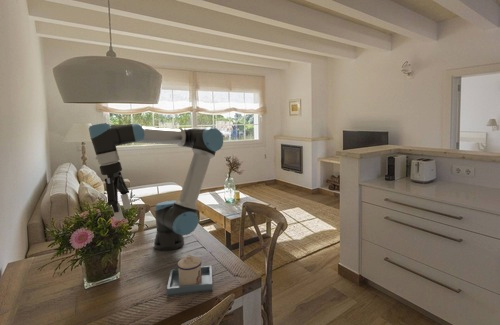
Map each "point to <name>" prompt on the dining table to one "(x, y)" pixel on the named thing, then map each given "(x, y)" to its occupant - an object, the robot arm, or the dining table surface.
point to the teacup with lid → (189, 270)
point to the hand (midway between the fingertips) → (124, 214)
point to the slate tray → (176, 289)
